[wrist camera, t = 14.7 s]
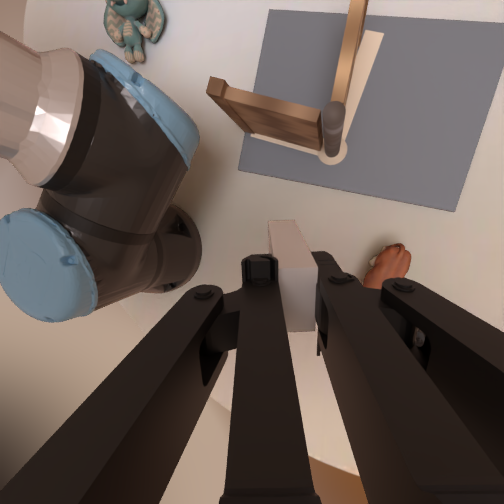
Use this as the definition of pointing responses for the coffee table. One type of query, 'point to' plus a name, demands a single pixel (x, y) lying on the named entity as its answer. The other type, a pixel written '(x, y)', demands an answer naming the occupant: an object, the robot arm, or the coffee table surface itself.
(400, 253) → the bull figurine
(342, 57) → the fence panel
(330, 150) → the rod
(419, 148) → the board
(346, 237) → the coffee table surface
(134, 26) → the stuffed animal
